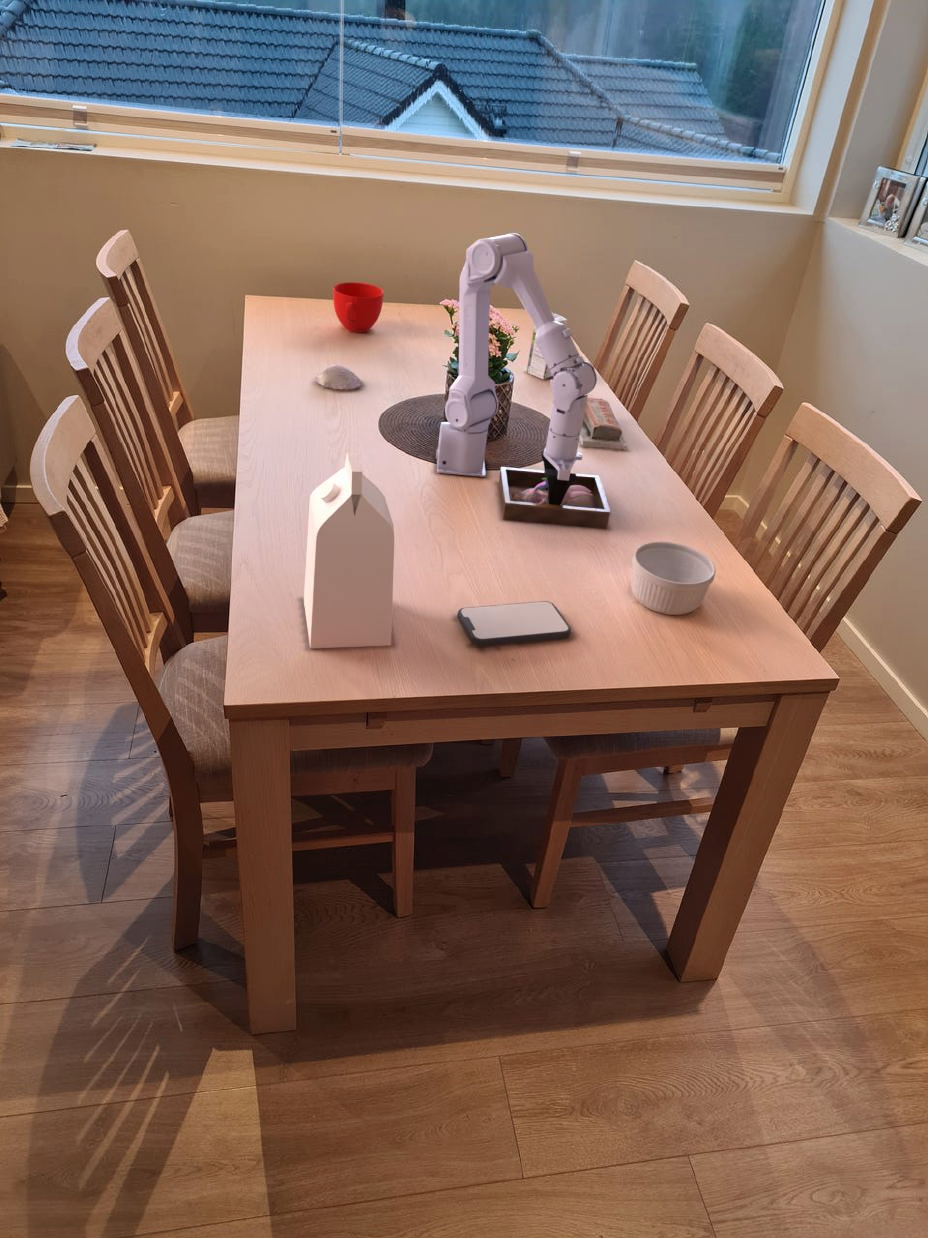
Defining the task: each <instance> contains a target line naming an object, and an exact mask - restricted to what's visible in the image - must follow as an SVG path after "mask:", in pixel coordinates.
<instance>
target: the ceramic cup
mask: <svg viewBox="0 0 928 1238" xmlns="http://www.w3.org/2000/svg"><path fill="white" fill-rule="evenodd" d="M332 295H333V297H332V298H333V308H334V312H335V315H336V317H337V319H338V320H339V322H340V324H341V325H342V326H343V328H344V330H347V331H349V332H352V333H365V332H368V331H370V329H371V328H372V327H373V326H374V325H375V324H376V323H377V322H378V319H379V317H380V315H381V312H382V308H383V303H384V295H385V294H384V290H383V289H382V288H381V287H380V286H379V287H378V286H376V285H373V284H369V283H366V282H365V283H363V282H351V281H349V282H341V283H337V284H335V285H334V286H333V287H332Z"/></svg>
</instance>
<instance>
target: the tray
mask: <svg viewBox="0 0 928 1238" xmlns="http://www.w3.org/2000/svg"><path fill="white" fill-rule="evenodd" d="M575 474H576V480H575V482H574V483H573V484H572V485H581V486H584V487H586V488H587V489H589V490H590V491H591V493H589V492H587V493H589V494H592V495H593V496H592V498H593V502H594V505H595V508H594V507H583V506H572V505H551V504H548V503H543V504H539V503H538V502H536V503H528V502H521V501H518V500H517V501H514V500H511V497H510V490H509V487H514V488H515V487H517V488H527V489H533V488H535V487H536V486H537V485H538V484H540V483H542V482H544V480H543V479H542V478H545V473H544V470H540V469H531V468H518V467H509V466H500V469H499V478H498V490H499V499H500V506H501V514H502V515H501V516H502V520H504V521H513V522H524V523H537V524H546V525H547V524H549V525H557V526H559V525H560V526H571V527H581V528H583V527H584V528H595V529H605V530H606V529H607V528H608V523H609V519H610V515H611V513H612V512H611V508H610V505H609V502H608V500H607V496H606V493H605V490H604V486H603V483H602V480H601V477H600V476H599V475H595V474H584V473H575ZM572 485H571V486H572Z"/></svg>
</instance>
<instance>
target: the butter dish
mask: <svg viewBox="0 0 928 1238" xmlns="http://www.w3.org/2000/svg"><path fill="white" fill-rule="evenodd" d="M621 428H622V427H621V426H620V424H619V422H618V420H617V418H616V416H615V414H614V412H613V410H612V408H611V406H610V403H609V402H608V401H607V400H605V399H603V398H593V397H588V398H587V403H586V408H585V413H584V418H583V423H582V428H581V433H580V438H579V443H580V444H581V446H582V447H589V448H590V447H591V448H592V447H593V448H610V449H611V448H612V449H621V450H625V451H626V450H627V448H628V443H627V442H626V440H625V439H624V437H623V431H622V429H621Z"/></svg>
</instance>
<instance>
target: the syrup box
mask: <svg viewBox="0 0 928 1238" xmlns="http://www.w3.org/2000/svg"><path fill="white" fill-rule="evenodd" d="M552 314H553V317H554V319H555V320H556V321H558V322H560V323H563V324H565V326H566V328H567V329H568V322H569V320H568V319H567V318H565V317H563V316H562V315H559V314H557V313H554V312H552ZM533 325H534V324H533ZM536 334H537V329H536V327H535V325H534V326H533V331H532V337H531V342H530V347H529V348H530V350H529V355H528V360H527V367H526V374H529V375H531V376H533V377H536V378H538V379H541V380H547V379H550V378H553V376H552V374H551V372H550V370H549V368H548V366H547V364H546V362H545V360H544V358H543V356H542V354H541V352H540V350H539V348H538V346H537V344H536V342H535V338H536Z"/></svg>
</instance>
